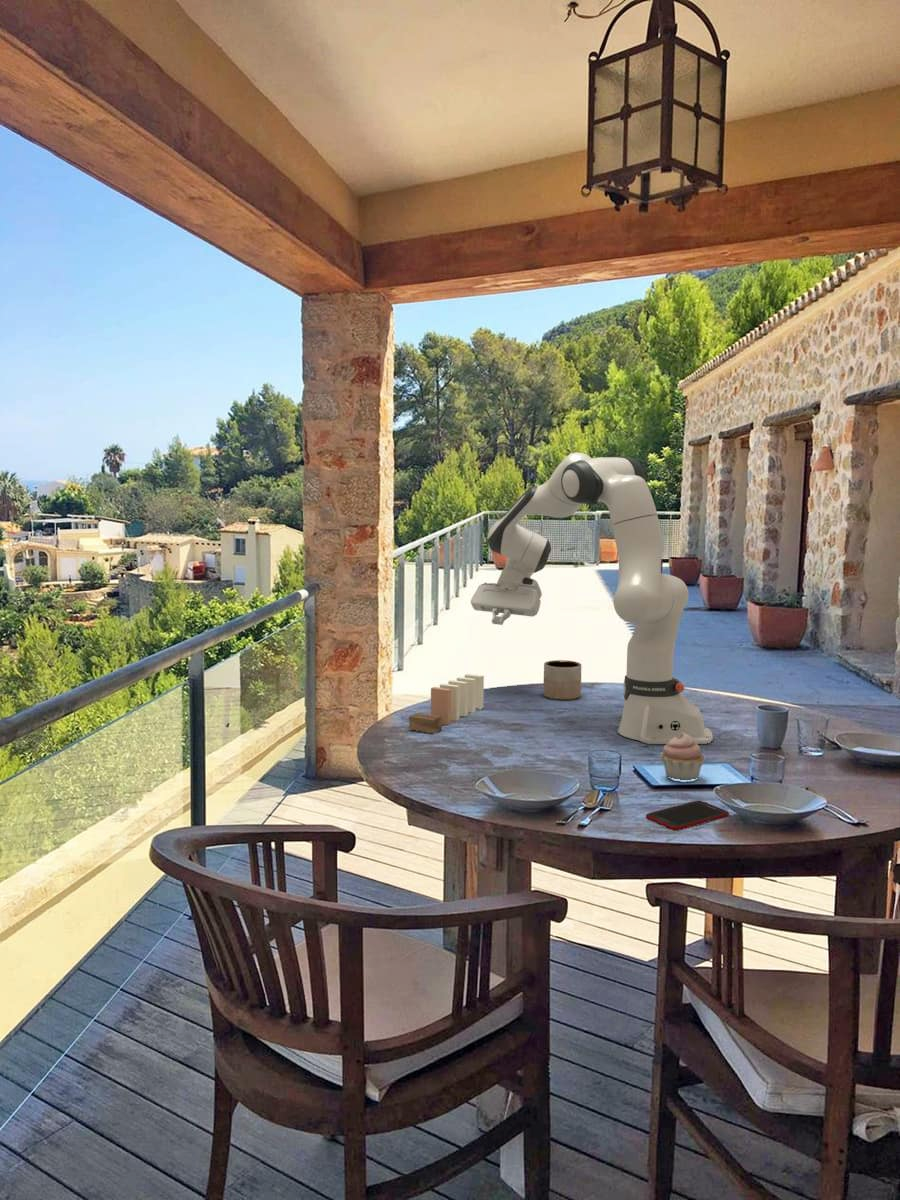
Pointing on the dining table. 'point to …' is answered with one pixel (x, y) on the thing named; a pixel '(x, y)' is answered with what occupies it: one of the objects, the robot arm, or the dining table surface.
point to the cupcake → (682, 758)
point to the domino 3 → (462, 696)
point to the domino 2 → (454, 700)
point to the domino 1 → (441, 704)
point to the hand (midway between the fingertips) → (496, 623)
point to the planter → (562, 679)
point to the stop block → (425, 723)
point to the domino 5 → (478, 689)
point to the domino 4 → (470, 693)
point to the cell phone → (687, 815)
